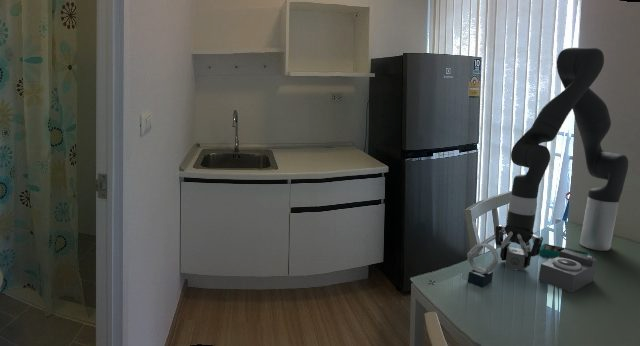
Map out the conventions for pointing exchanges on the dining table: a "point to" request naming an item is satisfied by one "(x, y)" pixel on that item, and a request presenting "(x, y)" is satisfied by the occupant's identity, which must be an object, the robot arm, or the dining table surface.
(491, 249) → the watch
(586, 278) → the camera body
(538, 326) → the dining table surface
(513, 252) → the dice cube
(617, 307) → the dining table surface
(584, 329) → the dining table surface
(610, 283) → the dining table surface
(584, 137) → the robot arm
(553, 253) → the digital multimeter
